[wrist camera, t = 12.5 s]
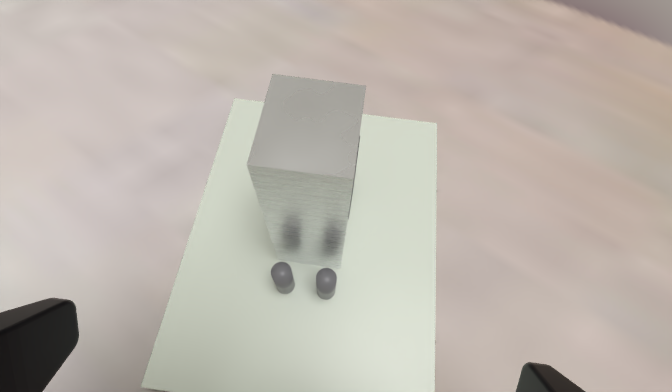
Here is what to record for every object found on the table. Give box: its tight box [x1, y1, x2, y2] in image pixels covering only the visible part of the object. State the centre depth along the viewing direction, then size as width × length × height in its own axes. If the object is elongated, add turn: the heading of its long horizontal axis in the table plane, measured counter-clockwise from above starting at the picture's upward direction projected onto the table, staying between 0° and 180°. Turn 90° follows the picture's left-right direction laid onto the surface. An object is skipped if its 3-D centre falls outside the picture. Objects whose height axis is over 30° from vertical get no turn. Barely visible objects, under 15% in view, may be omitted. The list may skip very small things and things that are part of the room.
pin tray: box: [141, 98, 437, 392], centre depth 21 cm, size 14×18×4 cm
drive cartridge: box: [247, 74, 366, 269], centre depth 18 cm, size 4×4×10 cm
